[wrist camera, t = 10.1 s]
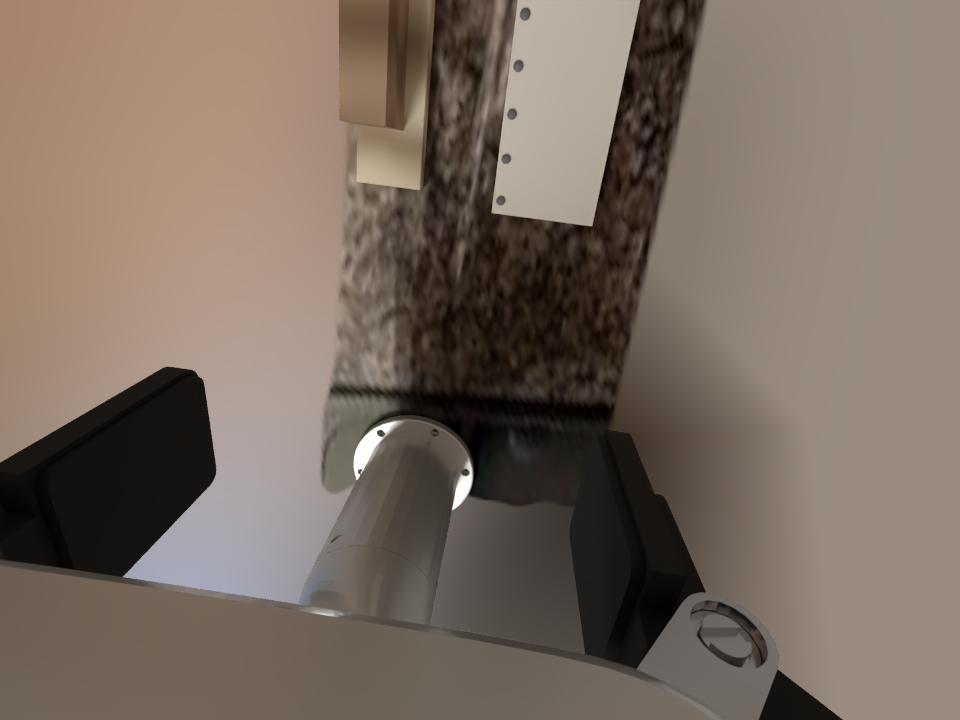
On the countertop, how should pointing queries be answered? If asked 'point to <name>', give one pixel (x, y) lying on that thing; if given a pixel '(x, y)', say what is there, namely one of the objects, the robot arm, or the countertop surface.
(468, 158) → the countertop surface
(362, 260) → the countertop surface
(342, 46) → the stub
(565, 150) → the board
